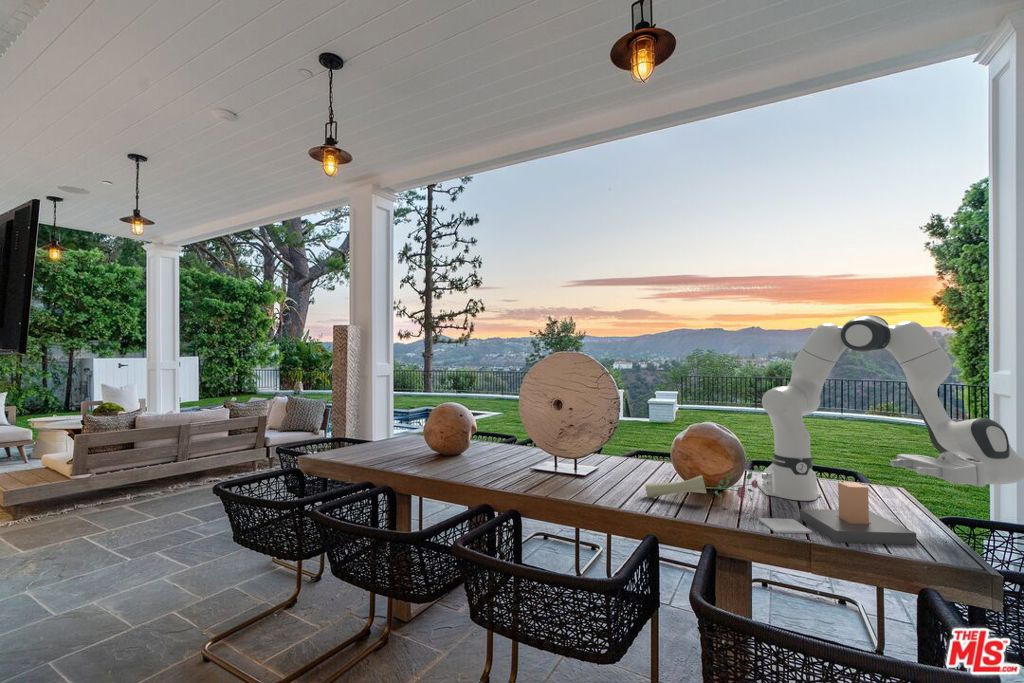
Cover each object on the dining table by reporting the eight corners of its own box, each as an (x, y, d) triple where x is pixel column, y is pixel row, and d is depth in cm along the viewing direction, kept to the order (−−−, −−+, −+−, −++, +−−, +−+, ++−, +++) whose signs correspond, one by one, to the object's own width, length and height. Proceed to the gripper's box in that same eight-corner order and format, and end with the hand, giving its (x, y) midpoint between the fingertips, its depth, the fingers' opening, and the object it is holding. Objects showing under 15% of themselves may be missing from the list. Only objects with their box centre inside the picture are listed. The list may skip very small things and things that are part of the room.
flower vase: (654, 517, 164) (762, 506, 152) (649, 517, 154) (765, 505, 142) (647, 482, 169) (752, 469, 157) (642, 480, 158) (754, 466, 146)
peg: (839, 527, 134) (838, 482, 135) (857, 527, 134) (856, 482, 134) (850, 534, 129) (849, 487, 130) (869, 534, 129) (868, 487, 129)
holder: (799, 518, 141) (799, 508, 141) (868, 520, 140) (868, 510, 140) (837, 542, 123) (836, 530, 123) (916, 544, 122) (916, 533, 122)
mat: (758, 520, 140) (758, 518, 140) (793, 520, 139) (793, 518, 139) (775, 532, 130) (775, 530, 130) (812, 533, 129) (812, 531, 129)
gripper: (925, 449, 141) (877, 448, 142) (990, 464, 120) (933, 463, 121) (926, 470, 140) (878, 469, 141) (991, 488, 120) (934, 487, 121)
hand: (904, 467), depth 131 cm, fingers open, 8 cm apart
